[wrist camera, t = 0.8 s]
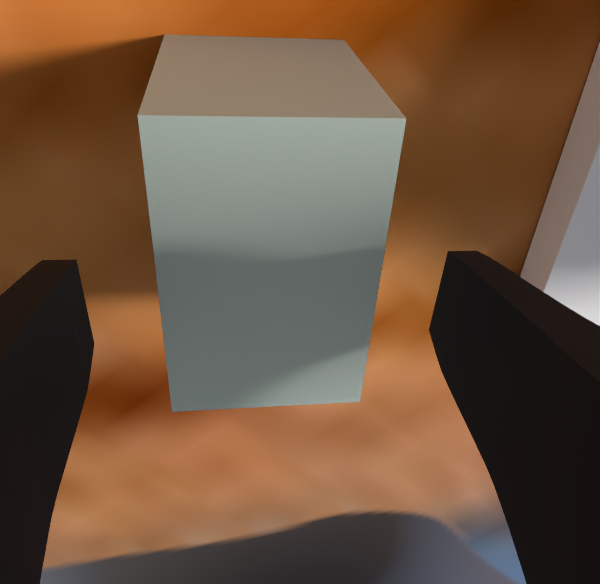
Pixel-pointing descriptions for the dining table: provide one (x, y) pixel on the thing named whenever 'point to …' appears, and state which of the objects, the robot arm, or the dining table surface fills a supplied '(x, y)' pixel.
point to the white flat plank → (573, 215)
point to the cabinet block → (267, 216)
